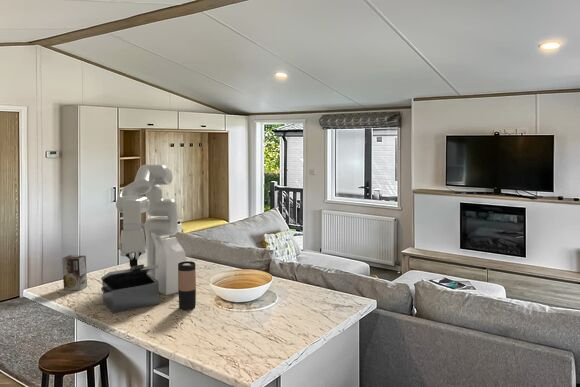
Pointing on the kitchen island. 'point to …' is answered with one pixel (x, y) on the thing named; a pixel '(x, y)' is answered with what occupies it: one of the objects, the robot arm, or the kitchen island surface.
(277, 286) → the kitchen island surface
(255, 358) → the kitchen island surface
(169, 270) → the milk
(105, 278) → the lid
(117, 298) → the grey lidded box
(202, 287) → the kitchen island surface
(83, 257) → the coffee box
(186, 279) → the travel mug
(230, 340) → the kitchen island surface
